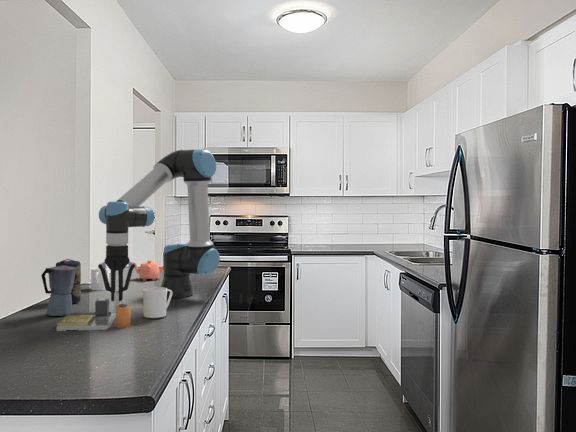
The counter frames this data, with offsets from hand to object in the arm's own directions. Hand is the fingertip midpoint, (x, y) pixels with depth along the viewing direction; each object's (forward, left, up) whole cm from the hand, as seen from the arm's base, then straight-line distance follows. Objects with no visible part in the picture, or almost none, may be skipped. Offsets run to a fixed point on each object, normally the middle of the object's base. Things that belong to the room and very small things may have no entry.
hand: (116, 309), depth 183 cm
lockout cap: (-4, +9, -4) cm, 10 cm away
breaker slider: (+5, 0, -2) cm, 5 cm away
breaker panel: (+9, +4, -4) cm, 11 cm away
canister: (+24, -31, -4) cm, 39 cm away
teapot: (-3, -85, -4) cm, 85 cm away
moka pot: (+22, -10, -4) cm, 24 cm away
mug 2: (-14, -4, -4) cm, 15 cm away
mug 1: (+17, -58, -4) cm, 61 cm away
